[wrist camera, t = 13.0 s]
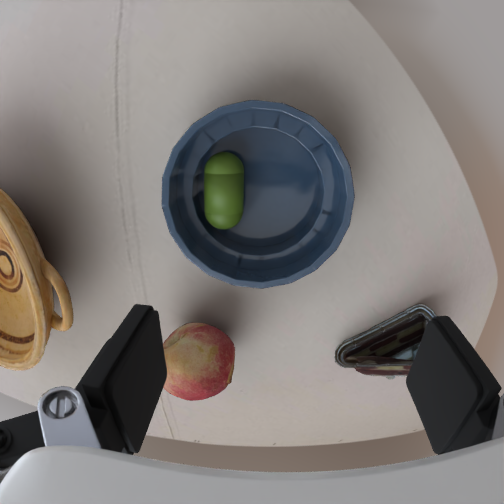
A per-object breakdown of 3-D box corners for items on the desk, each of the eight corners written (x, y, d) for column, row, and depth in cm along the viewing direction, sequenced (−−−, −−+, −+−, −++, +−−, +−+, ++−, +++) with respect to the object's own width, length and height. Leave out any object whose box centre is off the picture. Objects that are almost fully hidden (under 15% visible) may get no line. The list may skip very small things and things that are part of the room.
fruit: (228, 302, 31) (218, 352, 24) (245, 359, 34) (241, 412, 27) (158, 312, 32) (133, 360, 25) (182, 366, 35) (166, 416, 27)
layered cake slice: (345, 384, 36) (430, 413, 27) (327, 361, 32) (430, 395, 23) (376, 322, 40) (458, 341, 31) (364, 292, 36) (459, 310, 27)
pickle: (250, 151, 25) (215, 150, 26) (235, 153, 22) (196, 152, 23) (248, 225, 27) (215, 221, 28) (233, 236, 24) (197, 231, 25)
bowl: (215, 83, 24) (204, 72, 19) (364, 151, 25) (384, 155, 21) (158, 227, 29) (139, 246, 24) (295, 284, 30) (300, 312, 26)
